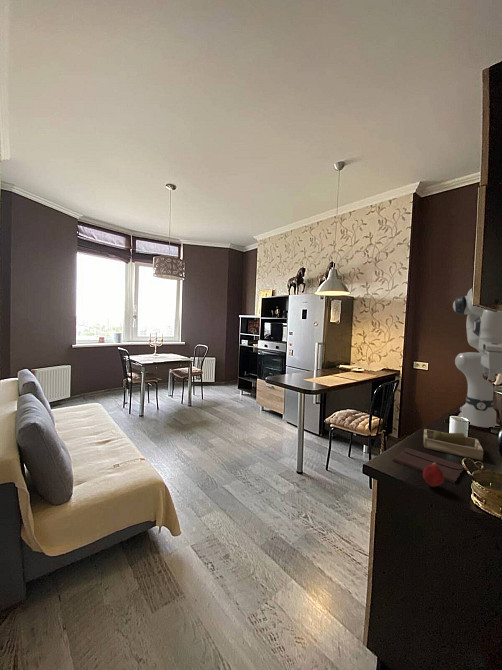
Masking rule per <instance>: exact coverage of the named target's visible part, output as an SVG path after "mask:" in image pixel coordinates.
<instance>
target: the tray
mask: <svg viewBox="0 0 502 670" xmlns="http://www.w3.org/2000/svg"><path fill="white" fill-rule="evenodd" d="M435 431H436V430H432V429H429V428H423V448H425V449H429V450H433V451H438V452H440V453H441V452H443V453H446V454H450V455H456V456H460V457H463V458H468V457H469V459H474V460H478V461H483V460H484V449H483V447H482V445H481V443H480V441H479V439H478V438H474V437H469V436H465V446H462V445H457V444H452V443H447V442H443V441H438V440H434V439H433V433H434V432H435ZM440 432H441V433H445V431H443V432H442V431H440Z"/></svg>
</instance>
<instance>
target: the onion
mask: <svg viewBox="0 0 502 670" xmlns="http://www.w3.org/2000/svg"><path fill="white" fill-rule="evenodd" d="M422 478H423V480H424V481H425V483H427V484H428V485H429V486H430V487H432V488H436V487H437V486H438V487H439V486H440V485H442V484H443V483H444V482H445V480H444V475H443V473H442V471H441V470H440V469H439V468H438V467H437V464H436V463H433V464H431V465H428V466H426V467H425V468H424V470H423V472H422Z"/></svg>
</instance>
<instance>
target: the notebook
mask: <svg viewBox="0 0 502 670" xmlns="http://www.w3.org/2000/svg"><path fill="white" fill-rule="evenodd" d="M393 461H394V462H393ZM392 462H393V463H396V462H397V463H396V464H399V463H400V465H402V464H403V465H402V466H404V465H406V466H405V467H407V466H409V467H408V468H410V467H412V468H411V469H413V468H415V469H417V470H416V471H418V470H419V472H421V471H422V473H423V470H424V468H425V467H426V466H428V465H431V464H433V463H436V464H437V467H438V468H439V469H440V470H441V471H442V473H443V475H444V481H446V482H448V481H449V483H452V484H455V483H456V482H457V480H458V479H457V478H459V477H460V475H461V474H462V472H463V471H464V470H465V466H464V465H463V464H460V463H456V462H453V461H450V460H447V459H445V458H440V457H437V456H435V455H431V454H428V453H425V452H422V451H419V450H416V449H413V448H409V447H404V449H403V450H402V451H401V452H400V453H398V454H397V455H395V456H394V457H393V459H392ZM463 466H464V467H463ZM415 469H414V470H415ZM460 473H461V474H460ZM455 481H456V482H455Z"/></svg>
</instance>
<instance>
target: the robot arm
mask: <svg viewBox="0 0 502 670" xmlns="http://www.w3.org/2000/svg"><path fill="white" fill-rule="evenodd" d="M472 288H473V287H472ZM472 288H470V289H469V290H468V292H467V295H461V296H458V297H456V298H455V299H454V301H453V303H452V308H453V311H454V312H455V314H456V315H460V316H464V315H467V316H466V324H465V327H466V338H467V342H468V345H469V346H470V347H472V348H474V349H475V350H477V351H478V352H473V351H471V352H470V351H468V352H460V353H458V354H457V356H455V359H454V364H455V366H456V368H457V369H458V371H460V372H461V373H463V374H464V376H465V378H466V382H467V392H466V393H467V394H466V396H465V404H463V405H462V406H460V407H459V412H460V413H459V414H458V415H457V417H458V416H460V417H464V418H467V419H468V420H469V422H470V424H469V425H471V426H475V427H480V428H488V429H489V427H493V428H496V427H495V426H501V425H500V424H498V423H497V411H496V410H495V409H494V404H495V403H494V399H493V398H494V389H495V388H494V384H493V383H491V381H495V376H496V375H501V374H502V313H501V312H496V311H492V310H489V309H484V308H481V307H477V306H473V305H472ZM484 377H486V378H488V380H489V381H488V380H487V379H485V378H484Z"/></svg>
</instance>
